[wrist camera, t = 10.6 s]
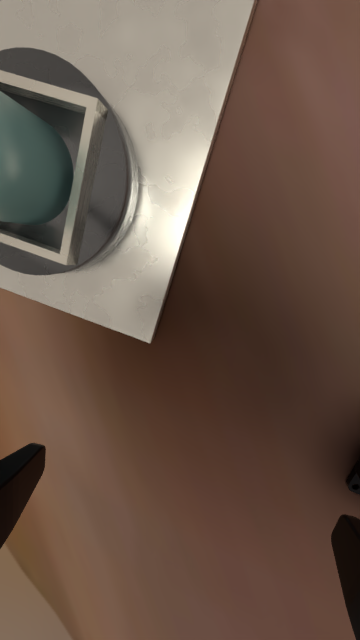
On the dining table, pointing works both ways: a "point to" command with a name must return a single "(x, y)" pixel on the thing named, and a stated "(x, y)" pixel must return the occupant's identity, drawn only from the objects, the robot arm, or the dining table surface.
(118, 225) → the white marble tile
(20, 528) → the dining table surface
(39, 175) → the bottle
